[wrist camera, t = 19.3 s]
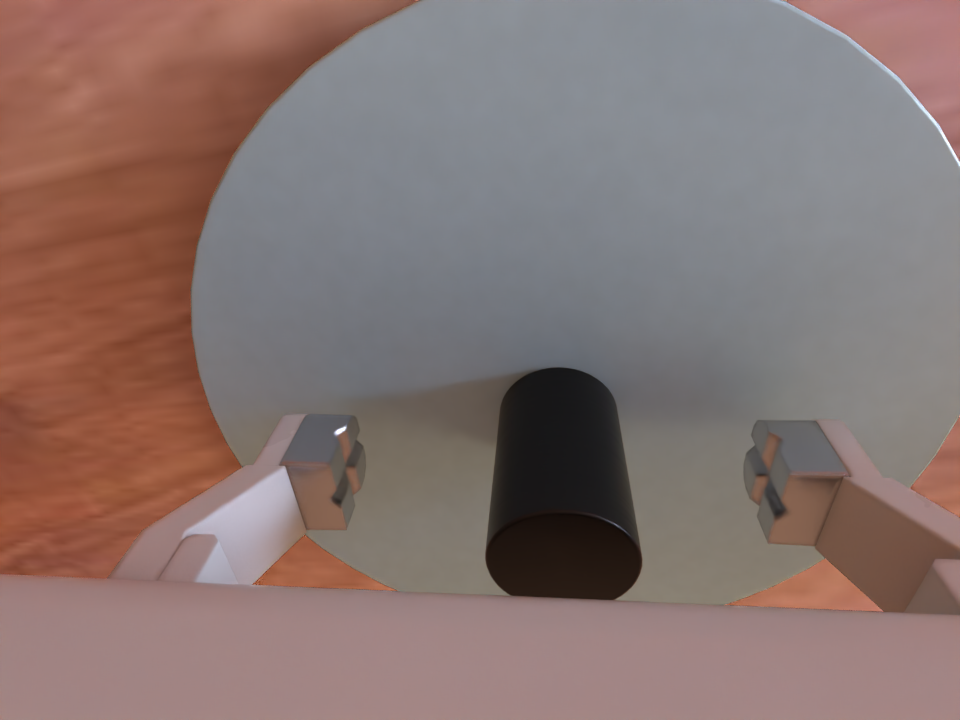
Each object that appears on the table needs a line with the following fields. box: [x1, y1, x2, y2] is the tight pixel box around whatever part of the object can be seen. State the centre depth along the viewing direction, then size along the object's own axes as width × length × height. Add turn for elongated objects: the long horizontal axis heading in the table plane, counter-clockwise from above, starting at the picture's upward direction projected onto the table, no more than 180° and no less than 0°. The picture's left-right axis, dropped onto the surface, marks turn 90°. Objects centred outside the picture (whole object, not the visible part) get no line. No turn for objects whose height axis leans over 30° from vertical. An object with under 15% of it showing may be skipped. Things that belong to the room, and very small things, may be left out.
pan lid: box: [191, 0, 960, 605], centre depth 12 cm, size 17×17×5 cm
